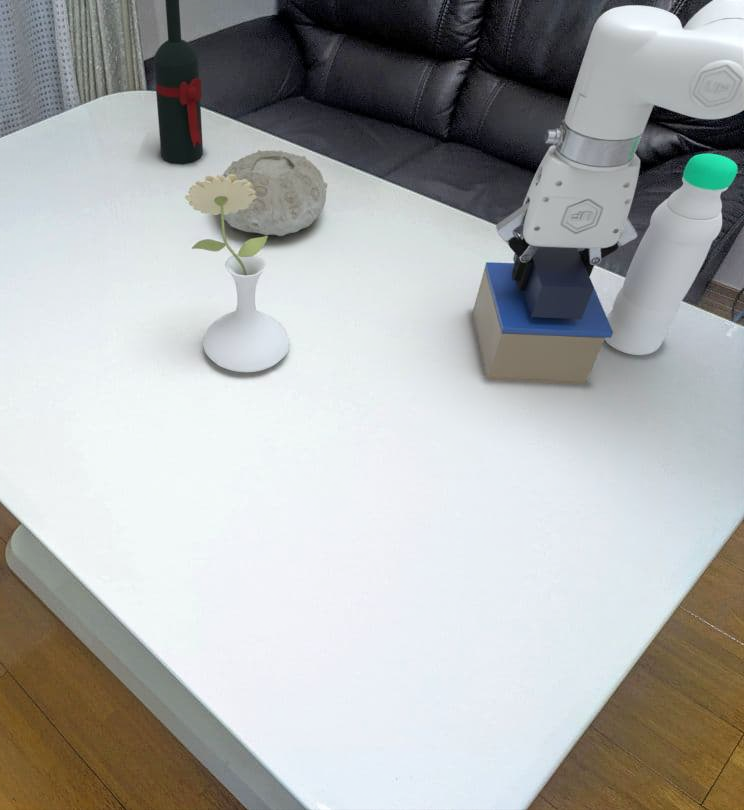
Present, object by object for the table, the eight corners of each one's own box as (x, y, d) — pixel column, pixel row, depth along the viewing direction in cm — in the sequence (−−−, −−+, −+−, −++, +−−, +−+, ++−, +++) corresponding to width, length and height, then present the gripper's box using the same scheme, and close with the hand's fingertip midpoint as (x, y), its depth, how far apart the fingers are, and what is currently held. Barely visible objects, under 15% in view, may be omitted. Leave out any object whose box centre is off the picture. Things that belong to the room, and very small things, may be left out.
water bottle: (648, 324, 98) (737, 146, 81) (666, 359, 93) (764, 177, 76) (593, 322, 99) (669, 145, 81) (608, 357, 94) (692, 176, 76)
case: (512, 258, 93) (522, 228, 90) (558, 260, 93) (569, 230, 90) (530, 317, 85) (541, 286, 82) (581, 319, 84) (594, 288, 81)
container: (559, 318, 100) (577, 270, 94) (583, 386, 90) (605, 338, 85) (471, 314, 101) (484, 267, 96) (486, 382, 92) (501, 333, 86)
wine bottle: (180, 175, 133) (168, -8, 112) (153, 154, 139) (137, -23, 118) (217, 163, 136) (212, -18, 114) (189, 143, 142) (179, -32, 121)
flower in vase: (298, 333, 100) (309, 160, 82) (275, 388, 92) (282, 210, 75) (208, 316, 103) (200, 146, 86) (179, 367, 96) (164, 193, 78)
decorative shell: (292, 262, 112) (295, 203, 105) (194, 232, 119) (191, 174, 112) (342, 209, 122) (348, 152, 115) (250, 184, 130) (250, 129, 123)
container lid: (582, 270, 94) (584, 265, 94) (611, 338, 85) (613, 332, 84) (484, 267, 96) (486, 261, 95) (501, 333, 86) (503, 327, 86)
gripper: (517, 157, 74) (477, 301, 87) (698, 160, 72) (630, 307, 85) (505, 124, 80) (468, 265, 92) (673, 127, 78) (612, 270, 90)
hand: (546, 284), depth 89 cm, fingers closed on case, 5 cm apart
